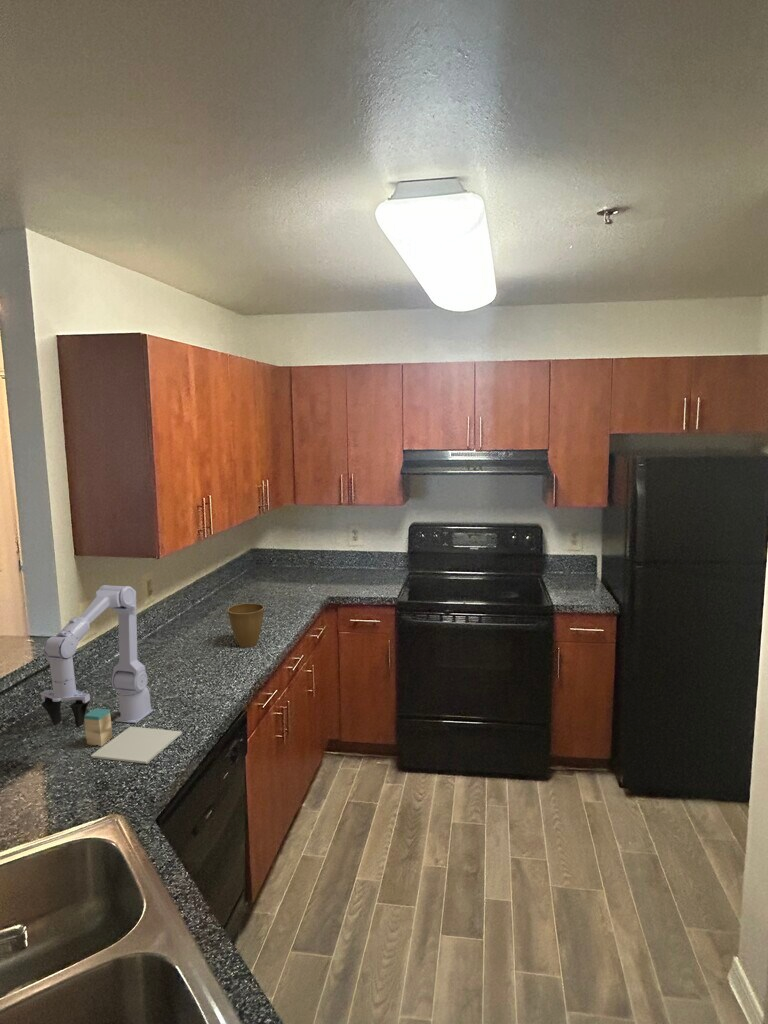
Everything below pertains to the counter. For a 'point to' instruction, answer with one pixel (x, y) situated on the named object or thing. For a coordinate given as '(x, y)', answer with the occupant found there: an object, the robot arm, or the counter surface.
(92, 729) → the wooden block
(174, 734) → the board
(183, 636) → the counter surface
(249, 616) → the plant pot
